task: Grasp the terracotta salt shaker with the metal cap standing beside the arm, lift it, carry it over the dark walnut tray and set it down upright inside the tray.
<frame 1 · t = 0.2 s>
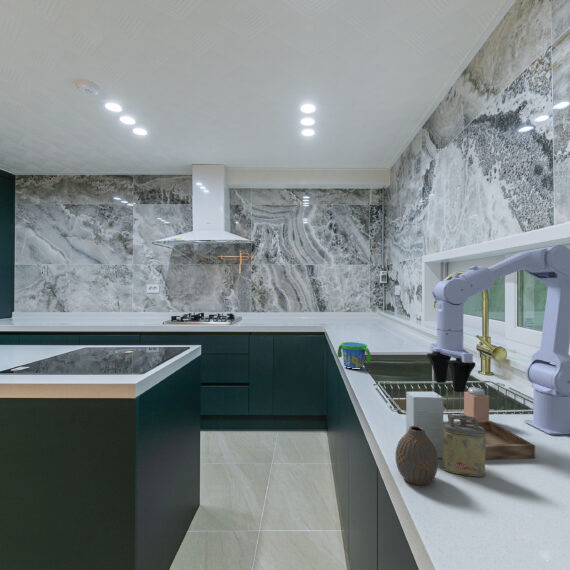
hand: (449, 386, 83), 10 cm above the counter, tool pointing down, fingers open, 7 cm apart
tray: (482, 444, 75), on the counter
vase: (415, 480, 61), on the counter
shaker: (476, 421, 88), on the counter
snack cup: (353, 368, 146), on the counter
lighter: (463, 472, 63), on the counter
skincare box: (423, 454, 70), on the counter
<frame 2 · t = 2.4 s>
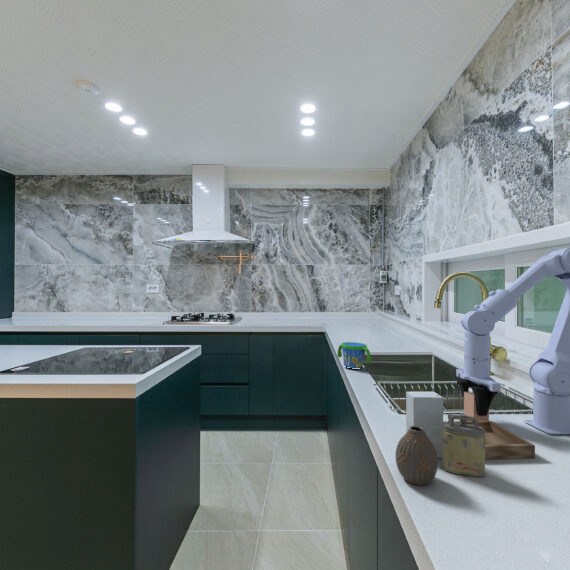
hand: (476, 412, 88), 2 cm above the counter, tool pointing down, fingers closed on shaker, 4 cm apart
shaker: (476, 421, 88), on the counter, touching gripper
everything else where it was.
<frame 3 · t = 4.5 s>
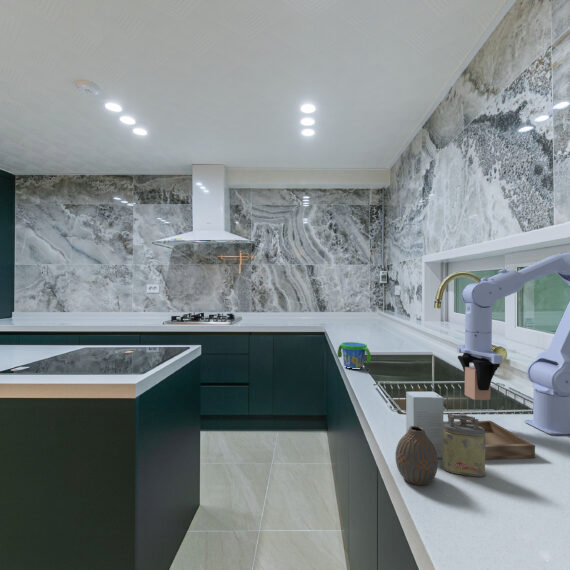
hand: (477, 387, 85), 9 cm above the counter, tool pointing down, fingers closed on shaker, 4 cm apart
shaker: (477, 397, 85), point 7 cm above the counter, touching gripper
everything else where it was.
when the fingers open (4 cm above the counter, at t = 6.7 s): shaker stays where it is, resting on tray.
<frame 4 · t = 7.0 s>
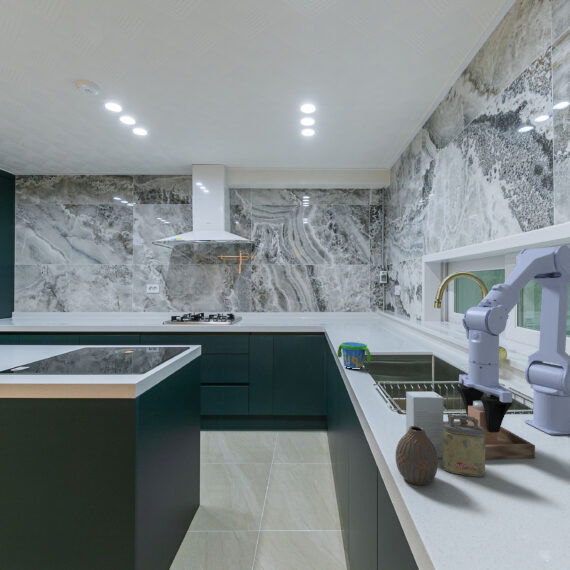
hand: (482, 425, 75), 4 cm above the counter, tool pointing down, fingers open, 6 cm apart
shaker: (482, 441, 75), point 1 cm above the counter, touching tray
everything else where it was.
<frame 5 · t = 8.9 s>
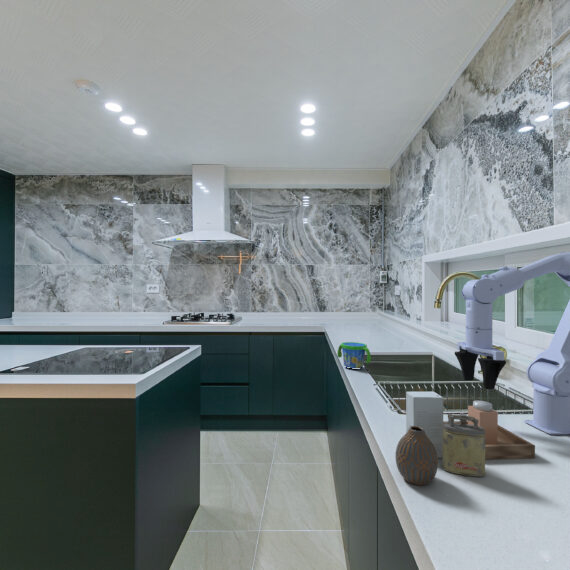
hand: (478, 384, 85), 10 cm above the counter, tool pointing down, fingers open, 7 cm apart
nothing on the counter moved.
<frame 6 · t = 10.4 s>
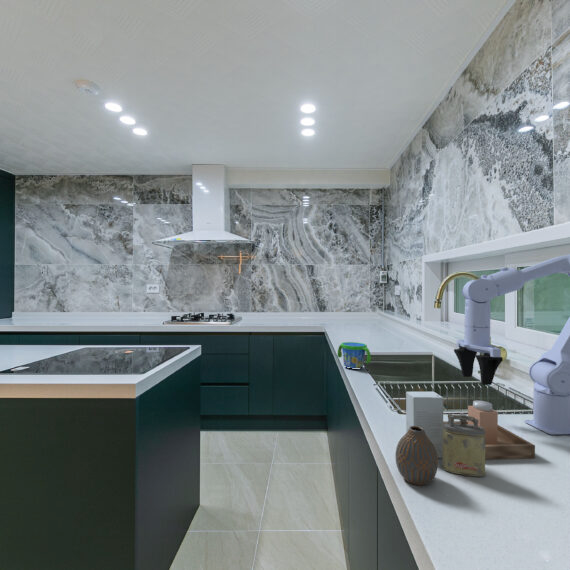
hand: (476, 380, 88), 10 cm above the counter, tool pointing down, fingers open, 7 cm apart
nothing on the counter moved.
at the end: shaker inside the target area on the tray (0.1 cm from its centre), point 0.6 cm above the tray's base; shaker tilted 0°; the gripper is holding nothing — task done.
